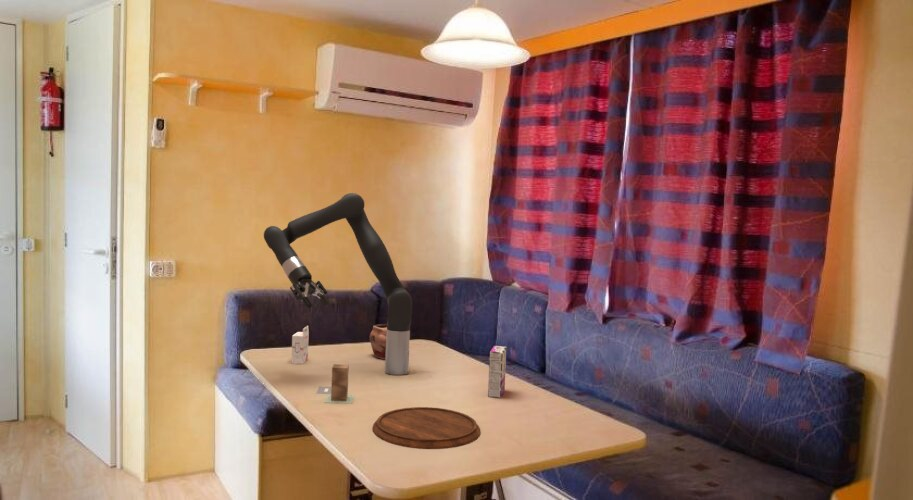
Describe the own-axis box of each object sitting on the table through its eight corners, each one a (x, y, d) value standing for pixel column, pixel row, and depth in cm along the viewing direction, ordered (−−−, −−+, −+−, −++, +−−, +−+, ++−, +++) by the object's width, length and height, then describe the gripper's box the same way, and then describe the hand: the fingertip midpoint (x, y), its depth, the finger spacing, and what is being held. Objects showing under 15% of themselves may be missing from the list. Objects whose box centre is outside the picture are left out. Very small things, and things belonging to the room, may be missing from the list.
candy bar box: (491, 389, 241) (493, 345, 240) (504, 390, 240) (507, 346, 239) (486, 397, 230) (489, 351, 229) (500, 398, 229) (503, 352, 228)
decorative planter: (359, 353, 291) (361, 322, 290) (383, 350, 298) (385, 320, 297) (381, 362, 274) (383, 330, 274) (406, 359, 281) (407, 328, 281)
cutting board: (422, 407, 215) (423, 400, 215) (501, 431, 195) (502, 423, 195) (349, 429, 191) (349, 421, 191) (431, 459, 171) (431, 450, 170)
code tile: (344, 388, 233) (344, 387, 233) (342, 395, 224) (342, 394, 224) (319, 387, 232) (319, 386, 232) (316, 394, 223) (316, 393, 223)
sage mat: (353, 396, 223) (354, 395, 223) (352, 404, 214) (352, 403, 214) (327, 396, 222) (327, 394, 222) (324, 403, 213) (324, 402, 213)
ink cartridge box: (296, 359, 273) (297, 324, 272) (308, 359, 273) (309, 325, 272) (290, 363, 265) (292, 328, 264) (302, 364, 265) (304, 328, 264)
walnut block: (347, 396, 221) (348, 364, 220) (346, 401, 216) (347, 368, 215) (332, 396, 220) (333, 364, 220) (330, 400, 215) (332, 367, 215)
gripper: (288, 266, 231) (311, 301, 226) (315, 264, 244) (338, 297, 239) (277, 279, 234) (299, 314, 229) (304, 277, 246) (326, 310, 241)
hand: (319, 306), depth 234 cm, fingers open, 8 cm apart
